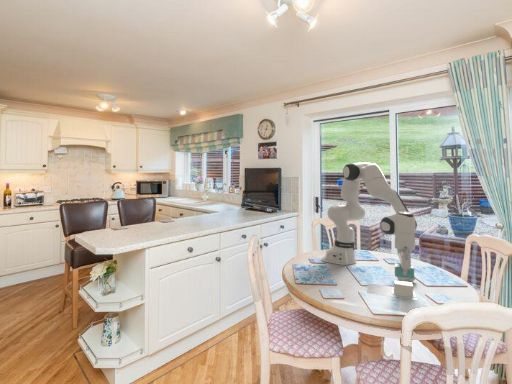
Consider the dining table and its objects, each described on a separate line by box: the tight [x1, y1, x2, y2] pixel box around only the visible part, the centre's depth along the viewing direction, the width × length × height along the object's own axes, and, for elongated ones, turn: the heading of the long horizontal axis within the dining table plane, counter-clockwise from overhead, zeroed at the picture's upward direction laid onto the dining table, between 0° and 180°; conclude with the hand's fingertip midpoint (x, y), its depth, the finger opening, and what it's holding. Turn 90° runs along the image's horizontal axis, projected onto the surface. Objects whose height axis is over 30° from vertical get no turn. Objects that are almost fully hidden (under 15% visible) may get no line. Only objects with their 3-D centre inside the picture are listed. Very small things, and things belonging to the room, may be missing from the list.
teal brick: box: [394, 263, 415, 279], centre depth 135 cm, size 8×5×5 cm, turn 66°
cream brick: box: [393, 279, 414, 296], centre depth 135 cm, size 8×5×5 cm, turn 66°
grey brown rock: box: [397, 275, 416, 283], centre depth 150 cm, size 8×9×10 cm
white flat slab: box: [366, 282, 418, 301], centre depth 138 cm, size 22×13×1 cm, turn 66°
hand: (403, 272), depth 135 cm, fingers closed on teal brick, 5 cm apart
